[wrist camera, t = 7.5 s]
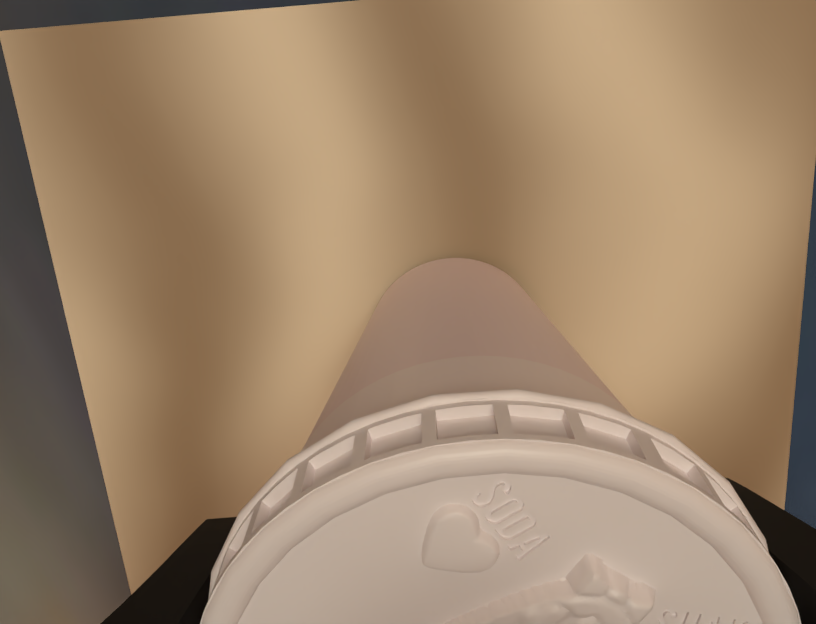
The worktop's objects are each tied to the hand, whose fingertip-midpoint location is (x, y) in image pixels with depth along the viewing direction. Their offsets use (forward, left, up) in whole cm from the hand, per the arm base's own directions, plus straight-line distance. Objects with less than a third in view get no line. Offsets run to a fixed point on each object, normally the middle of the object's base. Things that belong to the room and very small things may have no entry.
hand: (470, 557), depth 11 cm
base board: (0, 0, -8) cm, 8 cm away
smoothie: (0, +1, -6) cm, 7 cm away
